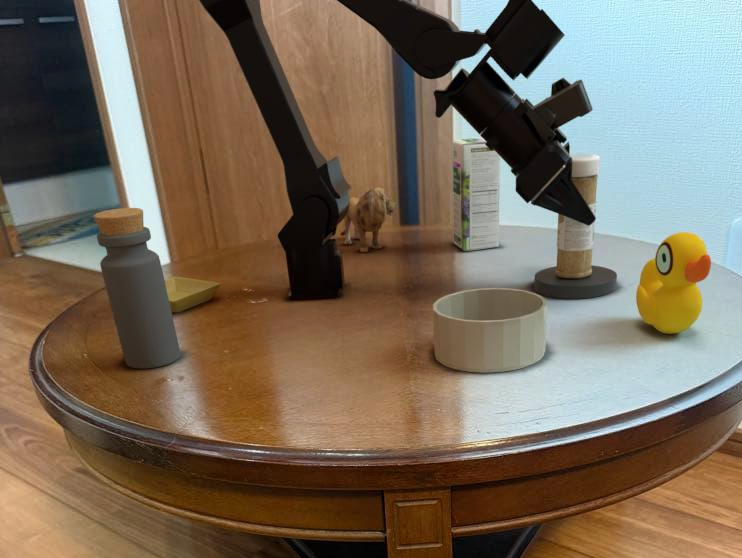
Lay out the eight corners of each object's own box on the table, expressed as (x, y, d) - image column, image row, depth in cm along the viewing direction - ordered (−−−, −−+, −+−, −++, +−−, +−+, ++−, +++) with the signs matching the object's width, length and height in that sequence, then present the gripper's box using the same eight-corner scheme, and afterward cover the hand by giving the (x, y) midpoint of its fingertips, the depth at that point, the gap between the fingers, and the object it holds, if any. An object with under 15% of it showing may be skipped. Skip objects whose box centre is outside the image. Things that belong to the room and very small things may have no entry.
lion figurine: (403, 250, 122) (399, 186, 117) (373, 256, 119) (368, 192, 115) (354, 235, 132) (349, 177, 128) (326, 241, 130) (319, 181, 125)
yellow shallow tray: (225, 298, 105) (222, 282, 104) (176, 317, 99) (173, 300, 98) (178, 291, 109) (175, 276, 108) (129, 309, 103) (125, 293, 102)
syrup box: (452, 244, 123) (449, 139, 115) (488, 239, 124) (488, 135, 116) (463, 252, 119) (461, 143, 111) (501, 247, 120) (501, 139, 112)
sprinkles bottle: (558, 269, 101) (563, 153, 94) (595, 270, 100) (603, 152, 93) (551, 279, 98) (556, 159, 91) (589, 280, 96) (597, 158, 89)
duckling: (721, 345, 80) (737, 240, 74) (670, 351, 79) (683, 246, 74) (667, 312, 89) (679, 218, 84) (622, 318, 88) (630, 223, 83)
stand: (539, 300, 96) (539, 288, 95) (530, 278, 104) (530, 266, 103) (623, 296, 95) (624, 283, 95) (607, 274, 104) (608, 262, 103)
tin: (435, 375, 78) (433, 324, 75) (434, 337, 87) (432, 291, 84) (551, 369, 77) (553, 318, 74) (538, 332, 86) (539, 285, 84)
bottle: (152, 372, 83) (115, 219, 75) (114, 364, 86) (74, 216, 78) (192, 354, 87) (161, 207, 79) (154, 347, 90) (121, 205, 82)
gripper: (551, 55, 79) (654, 172, 83) (550, 49, 95) (637, 148, 99) (472, 147, 85) (573, 252, 89) (484, 127, 100) (569, 217, 104)
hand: (590, 214), depth 95 cm, fingers open, 9 cm apart
